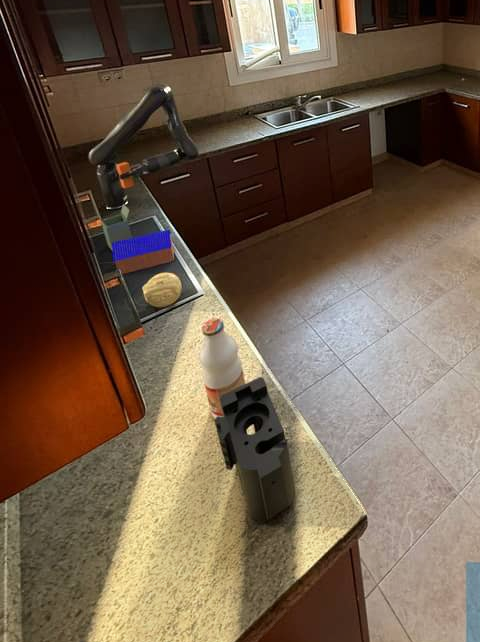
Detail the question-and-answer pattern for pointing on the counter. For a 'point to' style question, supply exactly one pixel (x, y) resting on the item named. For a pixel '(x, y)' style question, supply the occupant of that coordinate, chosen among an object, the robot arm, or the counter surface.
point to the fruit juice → (219, 364)
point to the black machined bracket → (256, 449)
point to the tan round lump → (162, 289)
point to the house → (143, 251)
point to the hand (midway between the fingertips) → (118, 176)
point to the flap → (125, 211)
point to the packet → (123, 169)
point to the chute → (116, 229)
